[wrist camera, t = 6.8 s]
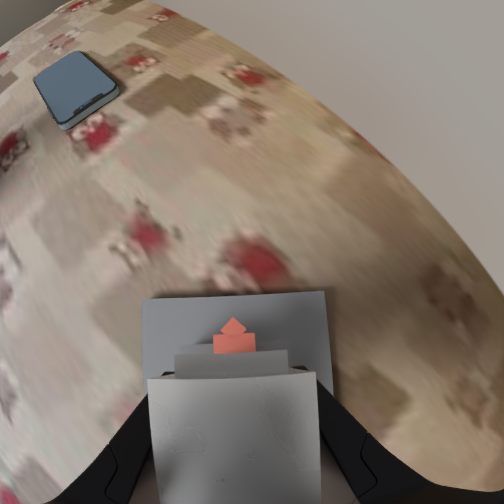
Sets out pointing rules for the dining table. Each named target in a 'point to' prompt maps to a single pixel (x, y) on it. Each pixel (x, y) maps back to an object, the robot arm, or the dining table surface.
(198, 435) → the column
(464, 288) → the dining table surface
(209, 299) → the base
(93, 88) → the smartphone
